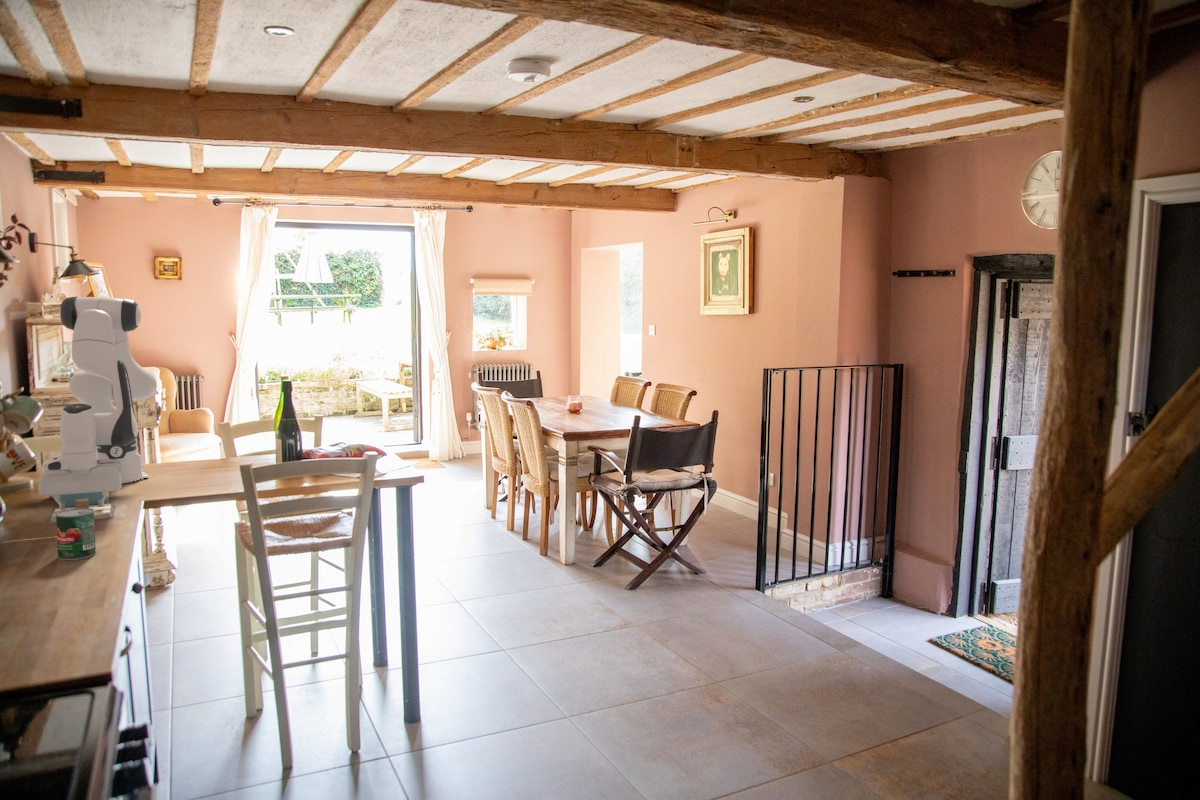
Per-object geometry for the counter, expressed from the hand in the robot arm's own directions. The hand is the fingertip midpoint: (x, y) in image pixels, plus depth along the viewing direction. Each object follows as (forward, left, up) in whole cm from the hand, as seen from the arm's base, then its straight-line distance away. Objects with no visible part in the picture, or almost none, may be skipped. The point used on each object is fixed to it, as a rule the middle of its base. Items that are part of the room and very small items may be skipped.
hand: (82, 508), depth 234 cm
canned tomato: (+43, +1, -3) cm, 43 cm away
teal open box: (-16, 0, -2) cm, 16 cm away
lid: (0, 0, -2) cm, 2 cm away
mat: (0, 0, -2) cm, 2 cm away
